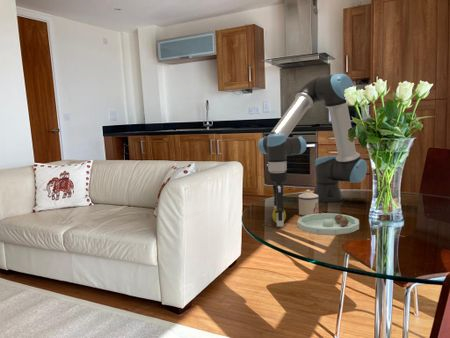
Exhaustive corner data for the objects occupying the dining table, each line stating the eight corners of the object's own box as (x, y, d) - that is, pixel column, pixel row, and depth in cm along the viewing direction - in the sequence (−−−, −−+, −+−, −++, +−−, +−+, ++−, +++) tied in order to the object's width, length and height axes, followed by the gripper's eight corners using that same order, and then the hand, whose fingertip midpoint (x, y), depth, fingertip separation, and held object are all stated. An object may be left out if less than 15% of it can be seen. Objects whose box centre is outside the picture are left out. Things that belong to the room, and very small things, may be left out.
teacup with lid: (318, 218, 158) (317, 192, 156) (297, 217, 161) (296, 191, 160) (320, 211, 169) (320, 187, 167) (301, 211, 172) (300, 186, 171)
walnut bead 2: (342, 224, 143) (342, 215, 143) (350, 225, 141) (350, 217, 140) (337, 226, 141) (337, 217, 141) (345, 228, 138) (345, 219, 138)
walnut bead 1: (337, 221, 148) (337, 213, 148) (345, 222, 145) (345, 214, 145) (333, 223, 146) (332, 214, 145) (340, 224, 143) (340, 216, 143)
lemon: (272, 226, 149) (271, 207, 148) (273, 223, 154) (272, 204, 153) (286, 226, 148) (285, 207, 147) (286, 223, 153) (285, 204, 152)
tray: (319, 217, 159) (319, 209, 159) (370, 226, 142) (370, 217, 142) (286, 229, 144) (286, 220, 144) (338, 241, 127) (338, 231, 126)
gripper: (266, 168, 160) (268, 217, 163) (270, 176, 137) (272, 232, 140) (283, 167, 159) (285, 217, 162) (290, 175, 137) (291, 232, 140)
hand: (279, 224), depth 151 cm, fingers open, 10 cm apart
